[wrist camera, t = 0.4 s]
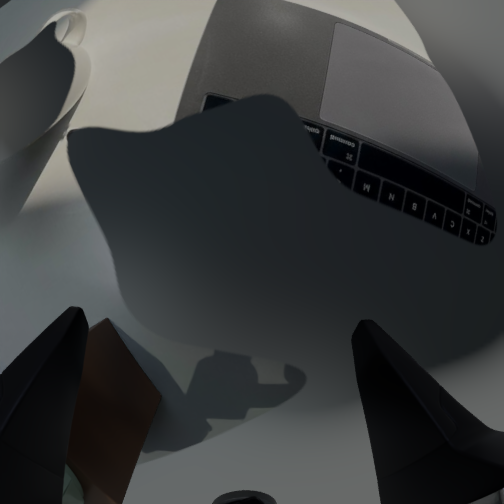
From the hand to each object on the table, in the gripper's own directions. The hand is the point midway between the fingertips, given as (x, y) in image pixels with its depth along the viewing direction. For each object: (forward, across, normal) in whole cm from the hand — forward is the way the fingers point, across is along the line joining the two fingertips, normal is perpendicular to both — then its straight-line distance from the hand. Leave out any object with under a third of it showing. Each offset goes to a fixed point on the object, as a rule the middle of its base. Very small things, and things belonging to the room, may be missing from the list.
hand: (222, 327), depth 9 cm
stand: (+6, +9, +14) cm, 18 cm away
